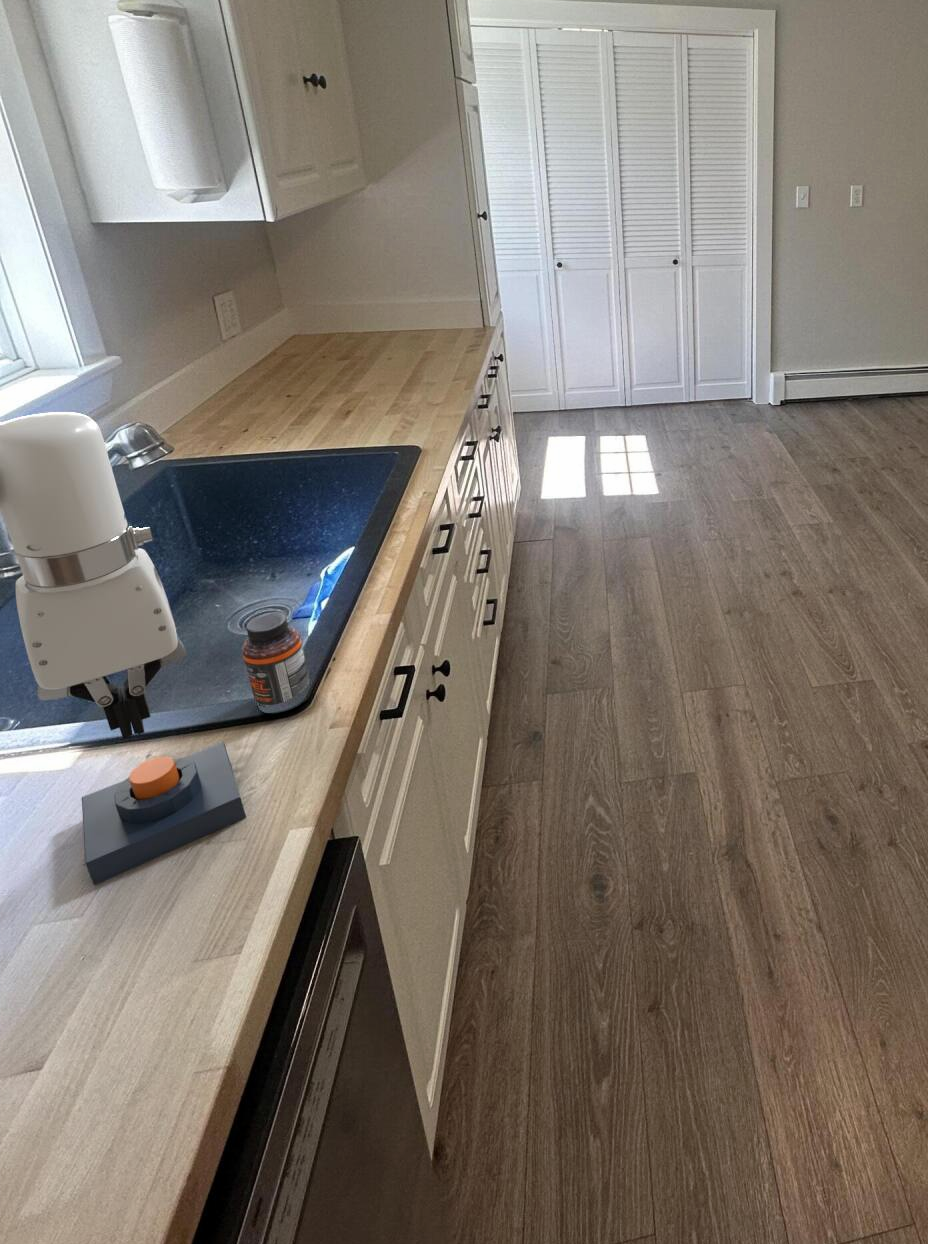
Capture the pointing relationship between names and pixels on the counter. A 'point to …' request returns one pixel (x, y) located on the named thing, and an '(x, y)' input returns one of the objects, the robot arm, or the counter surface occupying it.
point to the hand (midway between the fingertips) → (132, 728)
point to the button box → (159, 815)
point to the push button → (154, 777)
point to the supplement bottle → (274, 659)
